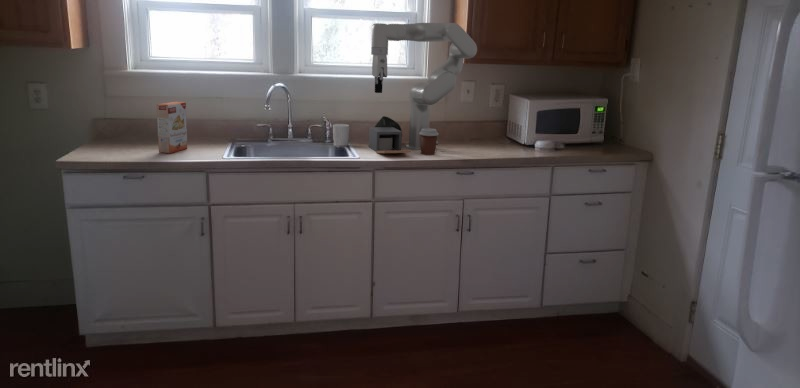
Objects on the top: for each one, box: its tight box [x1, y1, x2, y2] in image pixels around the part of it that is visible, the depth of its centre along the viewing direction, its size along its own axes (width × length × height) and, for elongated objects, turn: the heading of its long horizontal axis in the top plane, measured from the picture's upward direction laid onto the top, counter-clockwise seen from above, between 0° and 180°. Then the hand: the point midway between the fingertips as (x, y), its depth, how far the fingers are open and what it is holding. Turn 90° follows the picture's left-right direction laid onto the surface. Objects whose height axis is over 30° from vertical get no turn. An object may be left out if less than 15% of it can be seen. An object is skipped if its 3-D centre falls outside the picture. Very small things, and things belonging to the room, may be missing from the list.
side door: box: [376, 149, 413, 154], centre depth 270 cm, size 13×1×13 cm
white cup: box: [332, 123, 350, 147], centre depth 291 cm, size 8×8×10 cm
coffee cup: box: [419, 127, 440, 156], centre depth 276 cm, size 9×9×12 cm
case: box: [368, 126, 403, 154], centre depth 283 cm, size 12×14×10 cm
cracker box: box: [156, 101, 188, 154], centre depth 261 cm, size 14×6×21 cm, turn 168°
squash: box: [374, 115, 403, 132], centre depth 299 cm, size 14×15×15 cm
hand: (378, 92), depth 276 cm, fingers closed
